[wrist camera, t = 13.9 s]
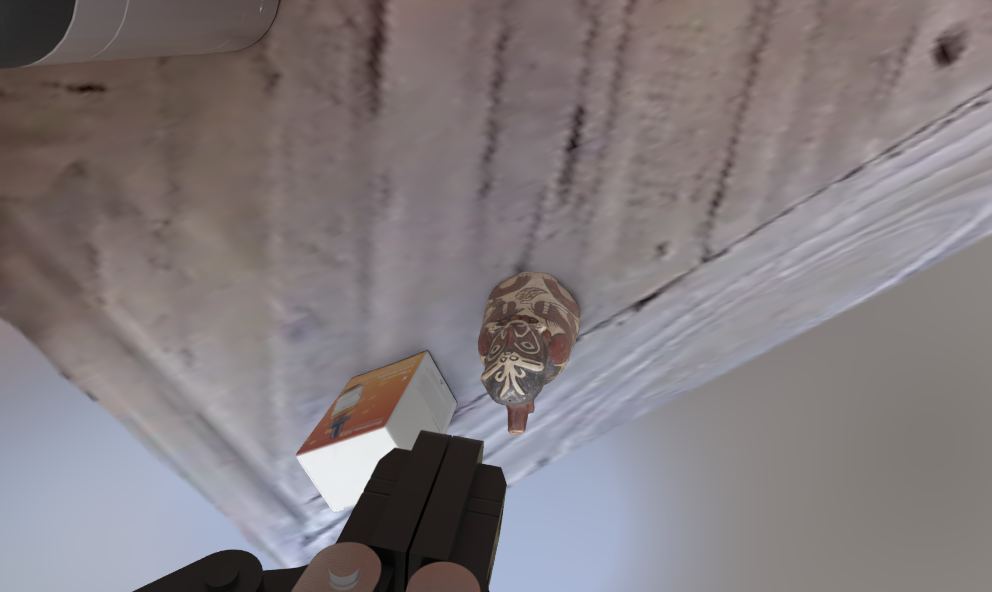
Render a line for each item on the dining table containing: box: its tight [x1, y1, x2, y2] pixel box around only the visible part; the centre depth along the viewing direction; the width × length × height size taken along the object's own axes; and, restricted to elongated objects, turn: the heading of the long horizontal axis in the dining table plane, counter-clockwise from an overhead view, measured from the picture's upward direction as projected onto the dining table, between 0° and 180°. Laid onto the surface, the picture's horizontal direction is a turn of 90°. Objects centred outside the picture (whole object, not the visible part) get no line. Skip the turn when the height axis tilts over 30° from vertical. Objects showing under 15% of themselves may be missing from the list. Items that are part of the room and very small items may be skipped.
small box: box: [296, 351, 457, 512], centre depth 47 cm, size 8×6×10 cm
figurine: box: [478, 272, 580, 434], centre depth 42 cm, size 7×7×12 cm
